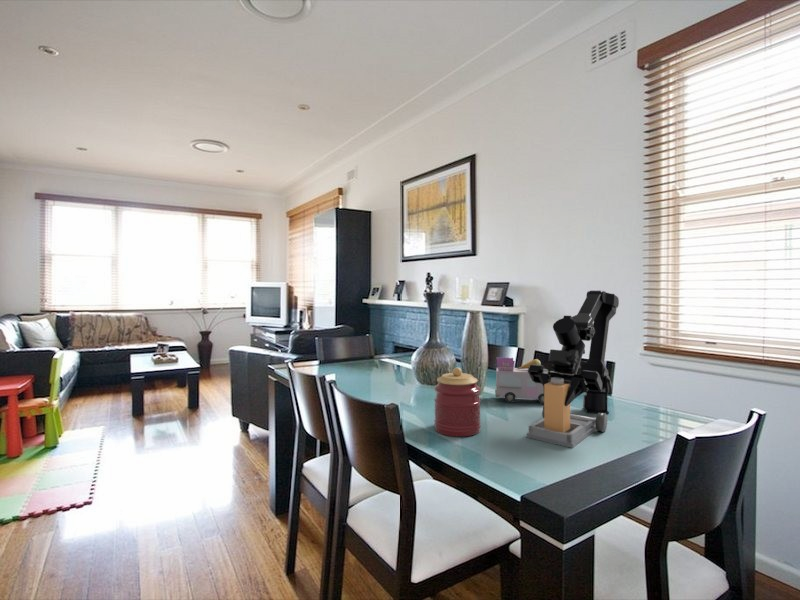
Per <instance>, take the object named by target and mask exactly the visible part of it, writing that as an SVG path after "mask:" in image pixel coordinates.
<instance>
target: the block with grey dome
mask: <svg viewBox="0 0 800 600" xmlns="http://www.w3.org/2000/svg"><path fill="white" fill-rule="evenodd" d="M570 385H571V383H567V382H566V383H565V381H564V379H563V378H559V377H552V378H551V382H549V383H546V384H544V404H543V407H544V429H549V430H553V431H558V432H563V433H564V432H566V431H567V430H569V429H570V414H571V403H570V404H569V405H568V406H565V404H564V403H565V399H566V396H567V393H568V391H569V388H570Z"/></svg>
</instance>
